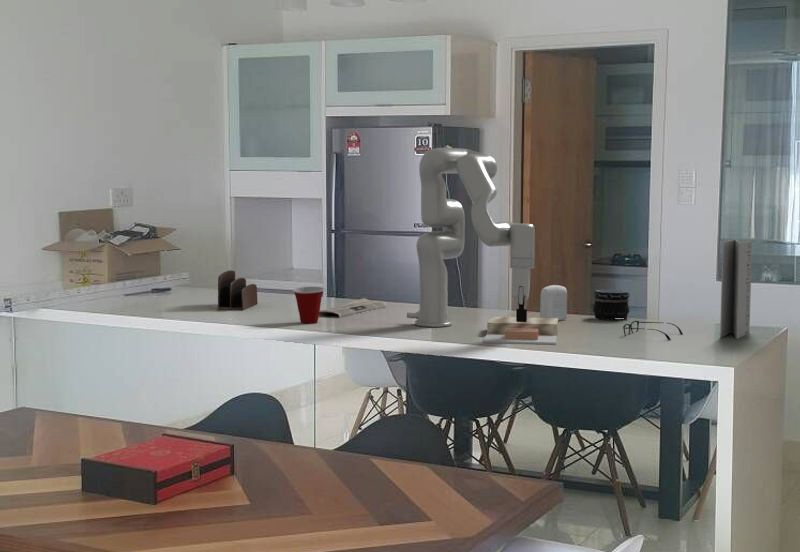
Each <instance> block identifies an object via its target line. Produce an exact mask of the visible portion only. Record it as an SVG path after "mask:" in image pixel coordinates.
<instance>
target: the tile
mask: <svg viewBox="0 0 800 552" xmlns="http://www.w3.org/2000/svg"><path fill="white" fill-rule="evenodd" d="M538 337H539V329H529V328H506V331H505V339H526V340H538Z"/></svg>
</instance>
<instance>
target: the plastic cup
mask: <svg viewBox="0 0 800 552" xmlns="http://www.w3.org/2000/svg"><path fill="white" fill-rule="evenodd" d="M324 291H325V288H324V287H323V286H322V287H321V286H300V287H296V288H294V289H292V292H293V293H294V295H295V300H296V306H297V310H298V315H299V320H300V323H301V324H304V325H305V324H309V325H313V324H317V323H318V321H319V317H320V316H319V312H320V310H321V305H322V304H321V303H322V298H323V292H324Z"/></svg>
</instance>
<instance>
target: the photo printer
mask: <svg viewBox="0 0 800 552" xmlns="http://www.w3.org/2000/svg"><path fill="white" fill-rule="evenodd" d="M539 306H540V307H539V309H540V310H539V311H540V312H539V313H540V314H539V318H558V321H566V320H567V317H568V316H567V314H568V313H567V312H568V290H567V288H566V287H565V286H563V285H558V284H552V285H548V286H545V287H543V288H542V289H541V291H540V305H539Z"/></svg>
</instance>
